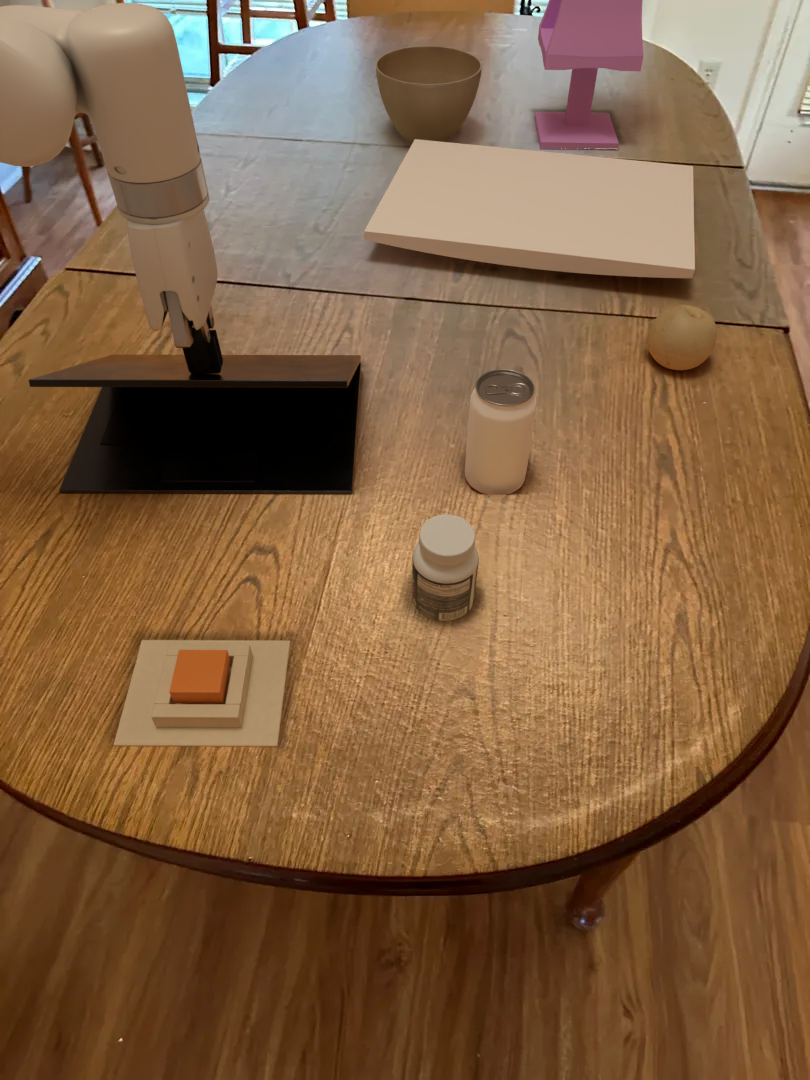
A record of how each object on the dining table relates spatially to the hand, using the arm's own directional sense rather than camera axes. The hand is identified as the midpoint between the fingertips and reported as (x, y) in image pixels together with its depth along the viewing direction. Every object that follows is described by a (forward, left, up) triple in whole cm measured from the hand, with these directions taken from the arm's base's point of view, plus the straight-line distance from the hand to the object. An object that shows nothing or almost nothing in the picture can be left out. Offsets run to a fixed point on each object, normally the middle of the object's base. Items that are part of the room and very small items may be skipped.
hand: (206, 368), depth 78 cm
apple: (+53, +17, -11) cm, 57 cm away
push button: (+3, -31, -8) cm, 32 cm away
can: (+29, -4, -11) cm, 32 cm away
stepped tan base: (+3, -31, -11) cm, 33 cm away
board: (+39, +51, -11) cm, 65 cm away
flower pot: (+23, +84, -11) cm, 88 cm away
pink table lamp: (+50, +86, -11) cm, 100 cm away
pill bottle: (+23, -21, -11) cm, 33 cm away
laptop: (-1, +3, -11) cm, 12 cm away
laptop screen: (-1, +4, -4) cm, 6 cm away
